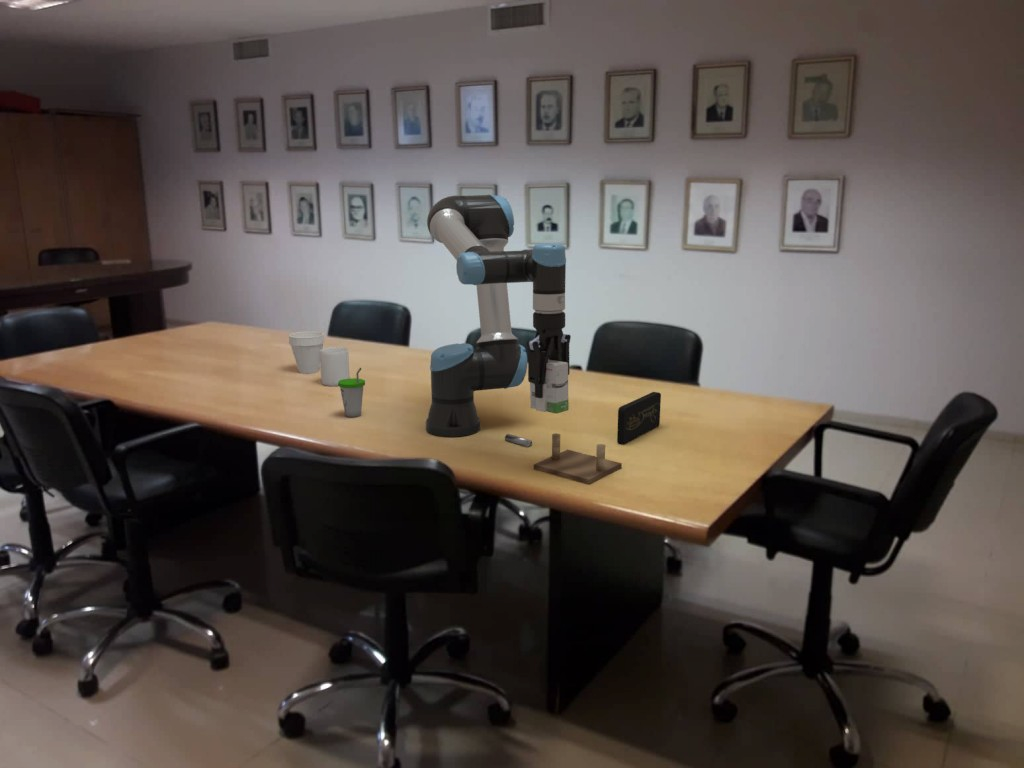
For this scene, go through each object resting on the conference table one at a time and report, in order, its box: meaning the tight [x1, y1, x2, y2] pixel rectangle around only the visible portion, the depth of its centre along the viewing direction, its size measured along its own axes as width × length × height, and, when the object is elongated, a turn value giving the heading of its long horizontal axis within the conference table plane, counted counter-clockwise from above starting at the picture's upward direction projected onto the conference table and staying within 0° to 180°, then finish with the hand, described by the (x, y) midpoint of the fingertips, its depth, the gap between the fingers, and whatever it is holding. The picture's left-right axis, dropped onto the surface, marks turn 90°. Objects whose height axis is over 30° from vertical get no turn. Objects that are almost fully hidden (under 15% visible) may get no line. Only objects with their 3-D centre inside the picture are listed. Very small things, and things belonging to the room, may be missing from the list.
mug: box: [319, 346, 351, 387], centre depth 275 cm, size 10×12×12 cm
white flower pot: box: [288, 330, 325, 375], centre depth 291 cm, size 12×12×14 cm
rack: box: [533, 432, 623, 485], centre depth 194 cm, size 16×14×7 cm
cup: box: [337, 367, 366, 419], centre depth 237 cm, size 8×8×15 cm
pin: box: [504, 433, 533, 448], centre depth 214 cm, size 8×2×2 cm, turn 47°
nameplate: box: [616, 391, 662, 445], centre depth 220 cm, size 21×2×10 cm, turn 144°
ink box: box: [529, 358, 570, 414], centre depth 192 cm, size 9×5×12 cm, turn 45°
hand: (549, 408), depth 193 cm, fingers closed on ink box, 5 cm apart
